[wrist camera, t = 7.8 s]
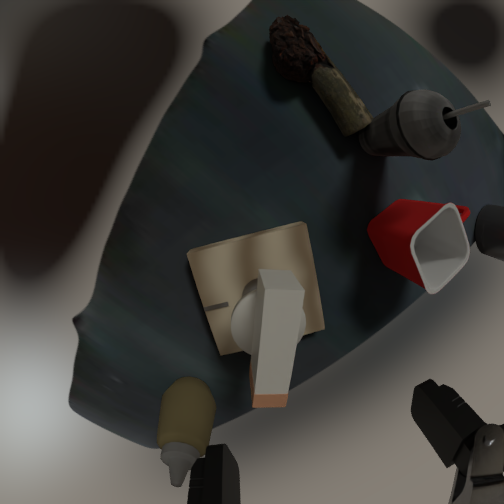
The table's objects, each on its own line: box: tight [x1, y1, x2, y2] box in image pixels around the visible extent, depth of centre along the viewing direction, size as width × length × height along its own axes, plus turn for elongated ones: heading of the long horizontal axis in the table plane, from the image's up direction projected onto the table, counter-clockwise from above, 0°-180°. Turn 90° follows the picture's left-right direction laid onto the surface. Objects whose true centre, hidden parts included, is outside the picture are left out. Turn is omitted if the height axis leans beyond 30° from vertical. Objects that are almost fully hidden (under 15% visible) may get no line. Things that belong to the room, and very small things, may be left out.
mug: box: [367, 199, 470, 294], centre depth 30 cm, size 12×8×11 cm
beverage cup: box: [359, 90, 491, 160], centre depth 22 cm, size 7×7×20 cm
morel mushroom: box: [269, 15, 373, 137], centre depth 27 cm, size 18×7×6 cm, turn 35°
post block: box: [187, 221, 325, 355], centre depth 31 cm, size 14×14×9 cm
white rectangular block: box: [231, 269, 306, 408], centre depth 23 cm, size 11×7×6 cm, turn 176°
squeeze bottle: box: [157, 377, 216, 487], centre depth 29 cm, size 8×8×18 cm
